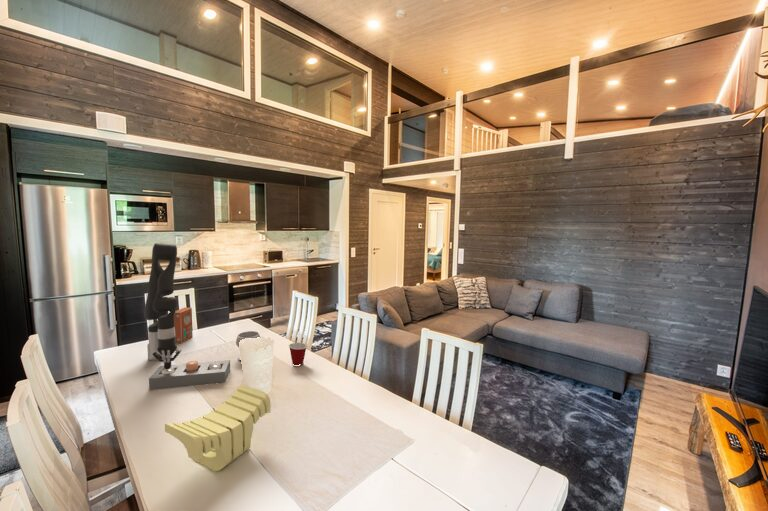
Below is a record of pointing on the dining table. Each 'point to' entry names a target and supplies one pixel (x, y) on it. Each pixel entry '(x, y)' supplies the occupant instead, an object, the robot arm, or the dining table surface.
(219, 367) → the right knob
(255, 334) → the chalice
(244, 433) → the slatted curved stool
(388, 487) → the dining table surface
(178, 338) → the orange cracker box
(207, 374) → the console
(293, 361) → the plastic cup
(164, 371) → the left knob
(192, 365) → the middle knob
